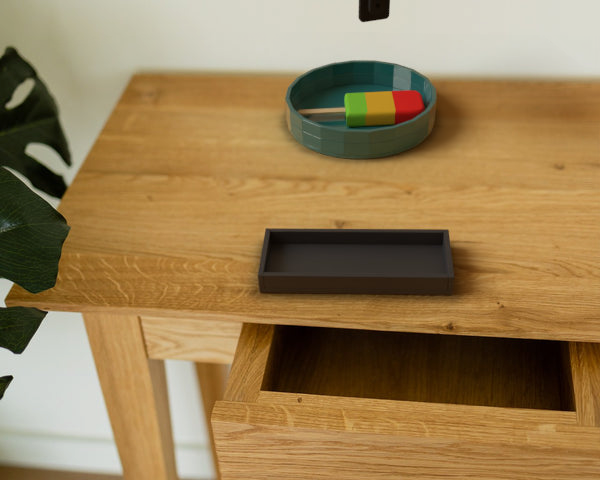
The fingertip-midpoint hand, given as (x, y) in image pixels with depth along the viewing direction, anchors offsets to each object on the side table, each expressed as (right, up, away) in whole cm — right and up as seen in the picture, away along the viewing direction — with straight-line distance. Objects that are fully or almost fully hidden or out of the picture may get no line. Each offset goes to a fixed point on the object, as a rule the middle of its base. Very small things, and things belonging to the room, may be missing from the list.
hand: (358, 2), depth 82 cm
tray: (-1, -29, -11) cm, 31 cm away
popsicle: (+1, -10, +9) cm, 14 cm away
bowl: (+1, -11, +9) cm, 14 cm away
